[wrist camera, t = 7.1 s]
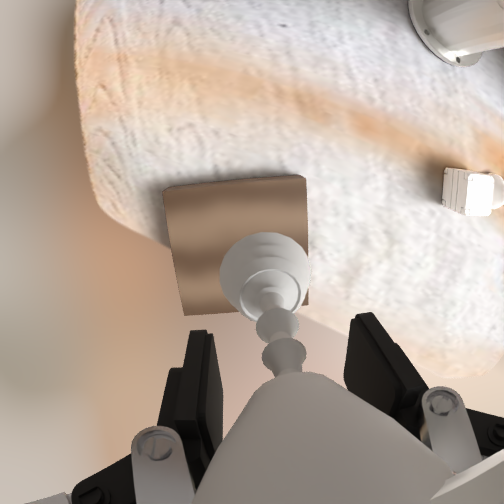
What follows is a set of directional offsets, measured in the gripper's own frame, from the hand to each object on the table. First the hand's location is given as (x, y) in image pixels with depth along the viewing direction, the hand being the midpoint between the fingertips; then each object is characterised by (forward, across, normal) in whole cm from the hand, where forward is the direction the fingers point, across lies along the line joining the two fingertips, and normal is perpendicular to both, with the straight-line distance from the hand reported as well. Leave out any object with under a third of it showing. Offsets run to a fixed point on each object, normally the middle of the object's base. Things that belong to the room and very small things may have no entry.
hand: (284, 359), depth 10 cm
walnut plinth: (+24, +1, +4) cm, 24 cm away
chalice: (+7, 0, 0) cm, 7 cm away
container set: (+24, -34, -2) cm, 42 cm away
